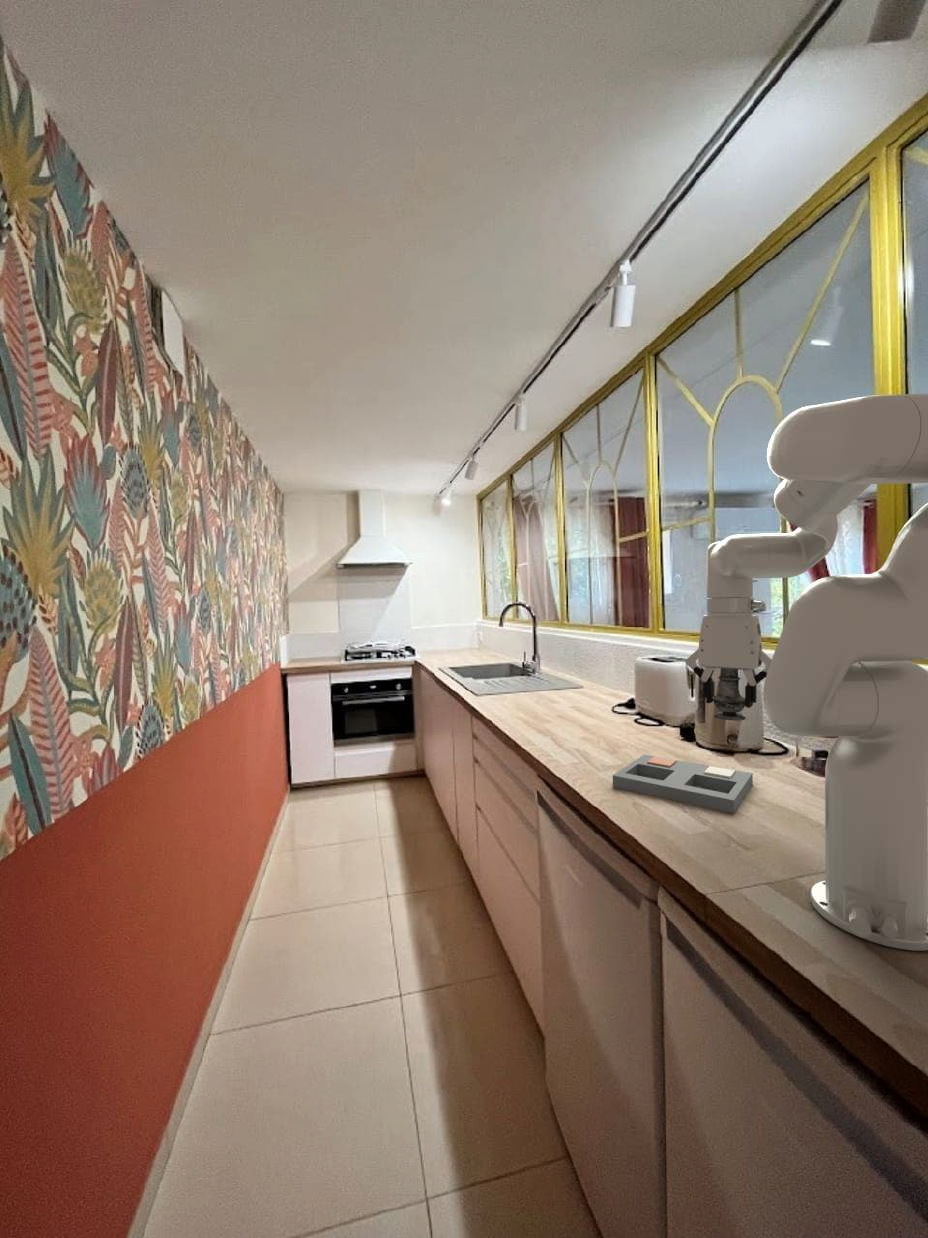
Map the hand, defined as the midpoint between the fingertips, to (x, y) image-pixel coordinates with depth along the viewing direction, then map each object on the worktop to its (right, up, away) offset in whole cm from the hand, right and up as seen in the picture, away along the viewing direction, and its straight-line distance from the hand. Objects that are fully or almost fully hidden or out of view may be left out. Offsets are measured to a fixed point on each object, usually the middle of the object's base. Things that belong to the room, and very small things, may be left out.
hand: (729, 703), depth 92 cm
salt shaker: (0, -3, 0) cm, 3 cm away
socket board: (-3, -20, +13) cm, 24 cm away
